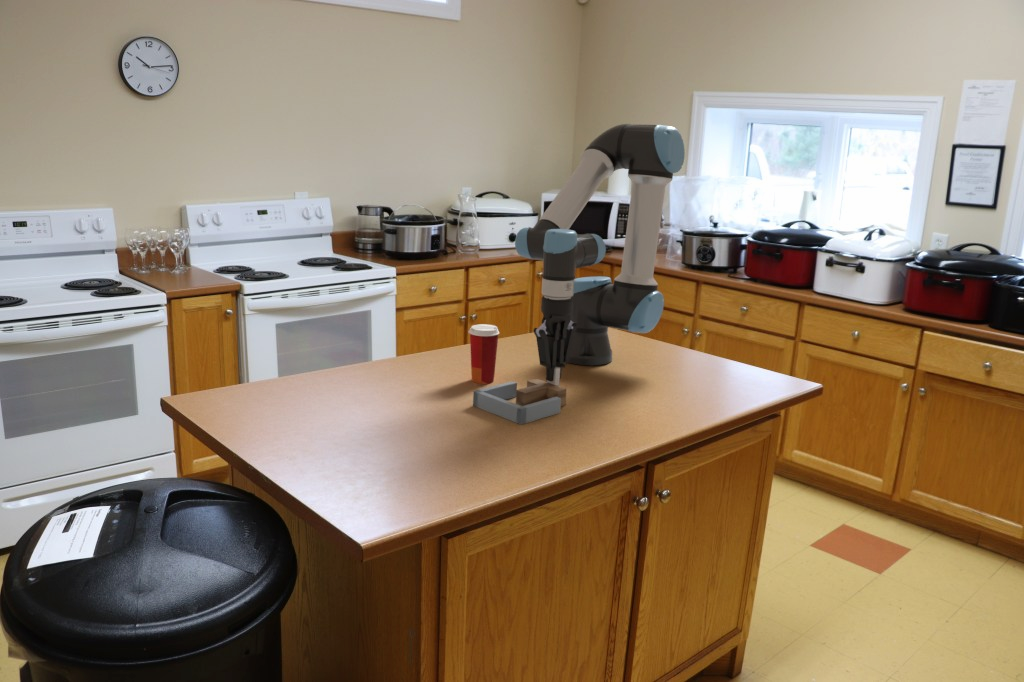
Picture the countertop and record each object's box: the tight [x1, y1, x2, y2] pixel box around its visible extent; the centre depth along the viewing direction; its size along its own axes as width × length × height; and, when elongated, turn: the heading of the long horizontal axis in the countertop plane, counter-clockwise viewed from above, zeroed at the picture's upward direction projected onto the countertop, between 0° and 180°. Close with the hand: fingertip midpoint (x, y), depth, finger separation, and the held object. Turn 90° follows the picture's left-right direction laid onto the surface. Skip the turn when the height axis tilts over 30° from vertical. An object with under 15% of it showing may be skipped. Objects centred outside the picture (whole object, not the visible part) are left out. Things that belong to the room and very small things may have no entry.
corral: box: [472, 381, 562, 425], centre depth 194 cm, size 16×12×4 cm
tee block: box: [515, 378, 567, 407], centre depth 198 cm, size 10×10×4 cm
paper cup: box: [467, 323, 500, 385], centre depth 213 cm, size 8×8×14 cm
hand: (552, 392), depth 202 cm, fingers closed
